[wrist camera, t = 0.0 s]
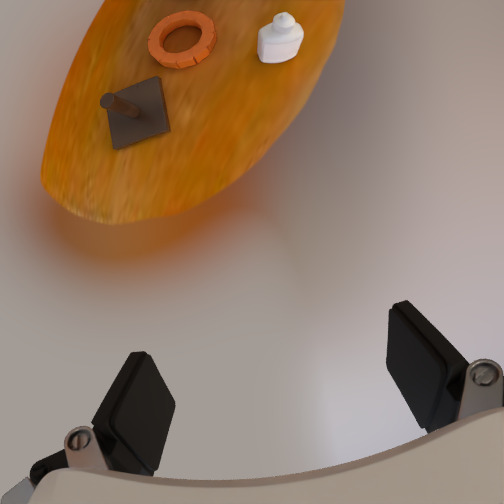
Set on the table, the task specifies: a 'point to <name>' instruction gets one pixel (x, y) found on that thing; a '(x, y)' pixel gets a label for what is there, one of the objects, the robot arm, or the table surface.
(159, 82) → the post
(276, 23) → the eye dropper bottle
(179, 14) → the ring
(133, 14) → the table surface
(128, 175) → the table surface
